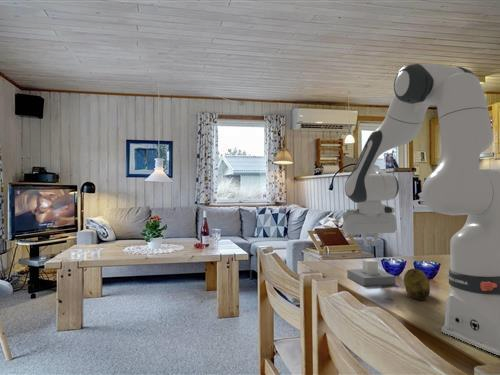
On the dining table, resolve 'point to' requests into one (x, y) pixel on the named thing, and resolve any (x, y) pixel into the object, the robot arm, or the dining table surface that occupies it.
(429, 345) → the dining table surface
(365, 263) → the plug
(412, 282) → the potato
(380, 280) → the socket
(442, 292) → the dining table surface
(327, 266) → the dining table surface
